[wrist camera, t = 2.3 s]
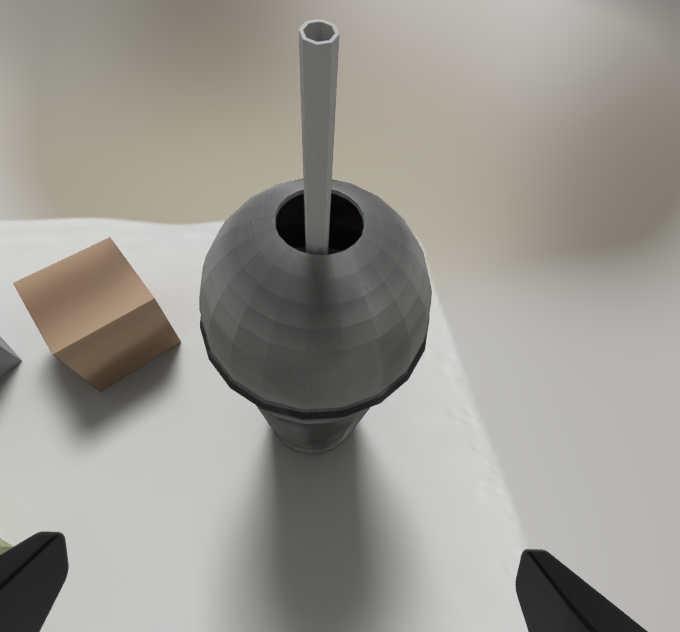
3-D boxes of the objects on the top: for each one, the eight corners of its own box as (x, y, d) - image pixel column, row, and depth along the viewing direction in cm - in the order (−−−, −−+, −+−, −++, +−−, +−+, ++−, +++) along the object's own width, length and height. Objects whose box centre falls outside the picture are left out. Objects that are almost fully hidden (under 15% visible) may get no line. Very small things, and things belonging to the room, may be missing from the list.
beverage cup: (379, 360, 25) (541, -78, 8) (374, 488, 21) (676, 202, 4) (260, 348, 25) (148, -126, 7) (235, 474, 21) (-109, 116, 4)
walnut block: (181, 342, 25) (154, 298, 20) (101, 391, 23) (52, 354, 18) (142, 288, 26) (110, 237, 22) (64, 330, 24) (12, 283, 20)
